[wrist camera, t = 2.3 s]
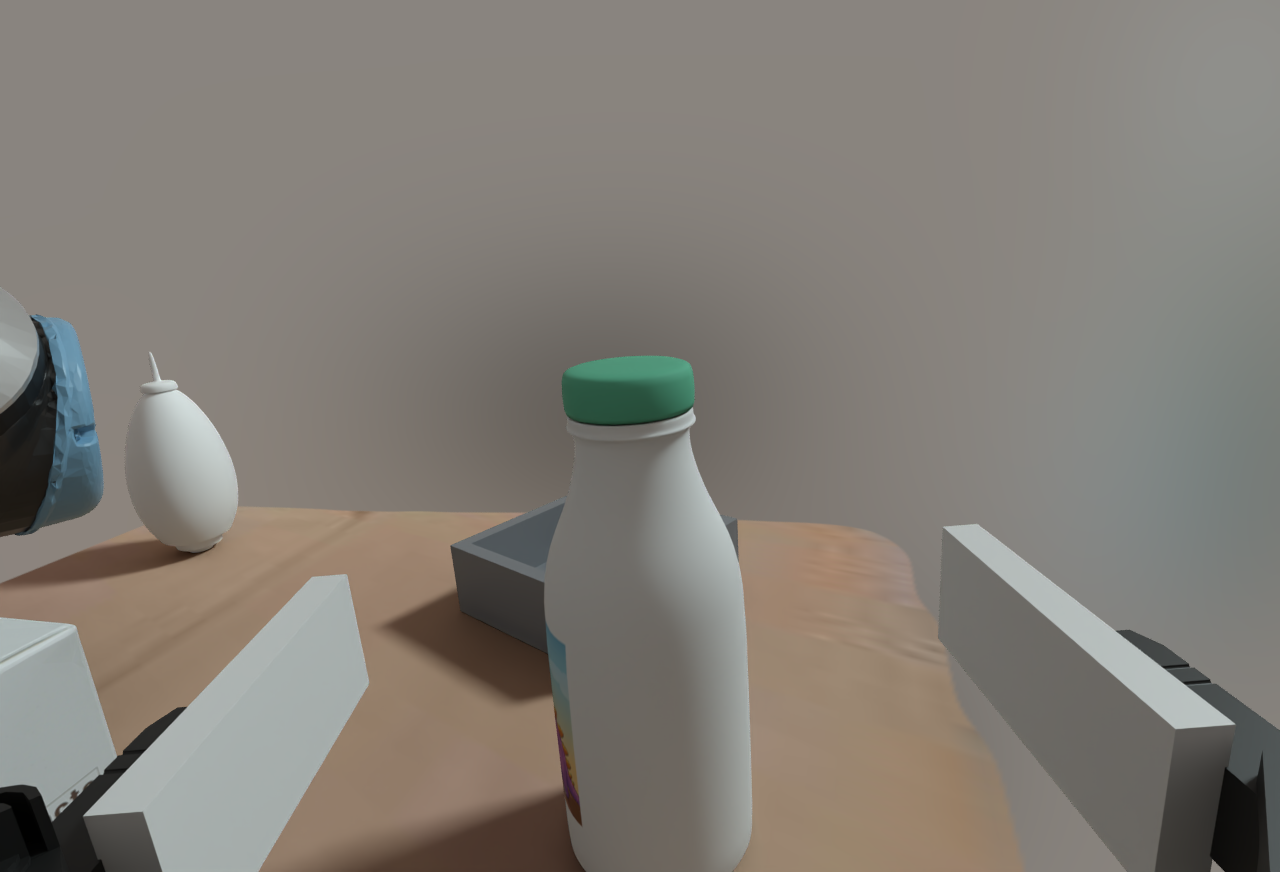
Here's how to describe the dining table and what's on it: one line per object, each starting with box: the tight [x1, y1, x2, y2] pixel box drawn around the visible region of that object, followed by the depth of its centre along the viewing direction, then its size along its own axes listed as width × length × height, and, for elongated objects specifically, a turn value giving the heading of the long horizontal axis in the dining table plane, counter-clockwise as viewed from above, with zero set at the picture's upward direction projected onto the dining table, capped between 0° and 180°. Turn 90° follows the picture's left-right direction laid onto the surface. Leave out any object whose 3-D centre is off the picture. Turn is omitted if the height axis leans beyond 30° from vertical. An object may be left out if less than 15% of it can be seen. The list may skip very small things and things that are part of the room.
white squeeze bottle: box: [125, 352, 238, 553], centre depth 60 cm, size 8×8×18 cm
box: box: [450, 496, 739, 654], centre depth 48 cm, size 14×14×5 cm
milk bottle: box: [544, 356, 752, 872], centre depth 27 cm, size 8×8×20 cm
